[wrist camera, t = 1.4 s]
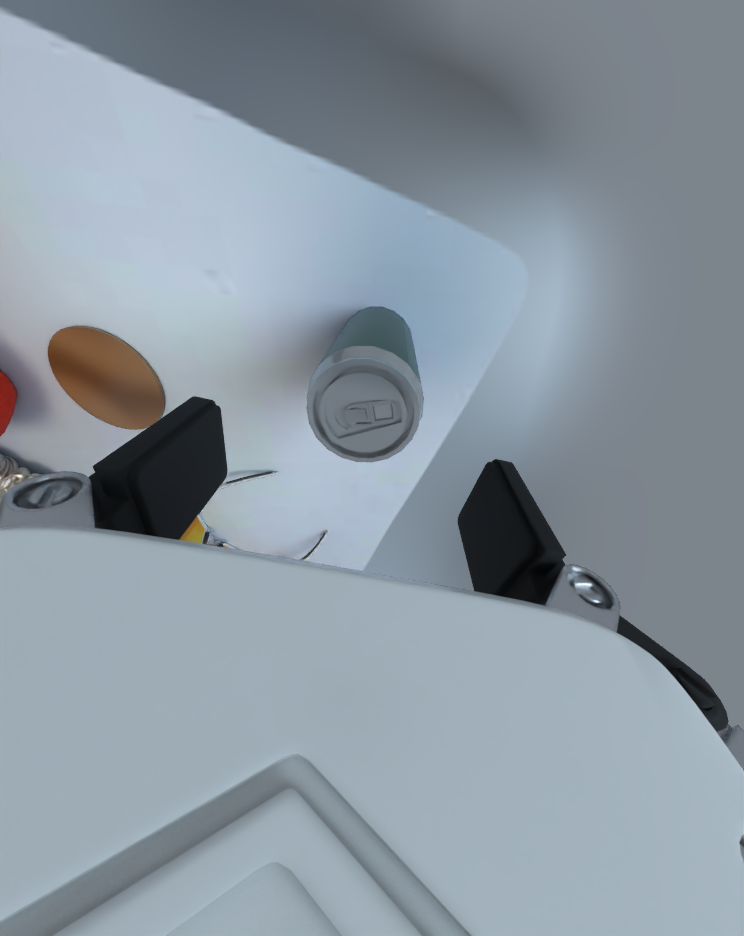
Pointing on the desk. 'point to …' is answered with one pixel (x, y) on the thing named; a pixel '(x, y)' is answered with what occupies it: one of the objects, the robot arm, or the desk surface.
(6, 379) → the apple
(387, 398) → the beer can
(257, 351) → the desk surface
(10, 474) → the ornament
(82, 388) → the coaster
